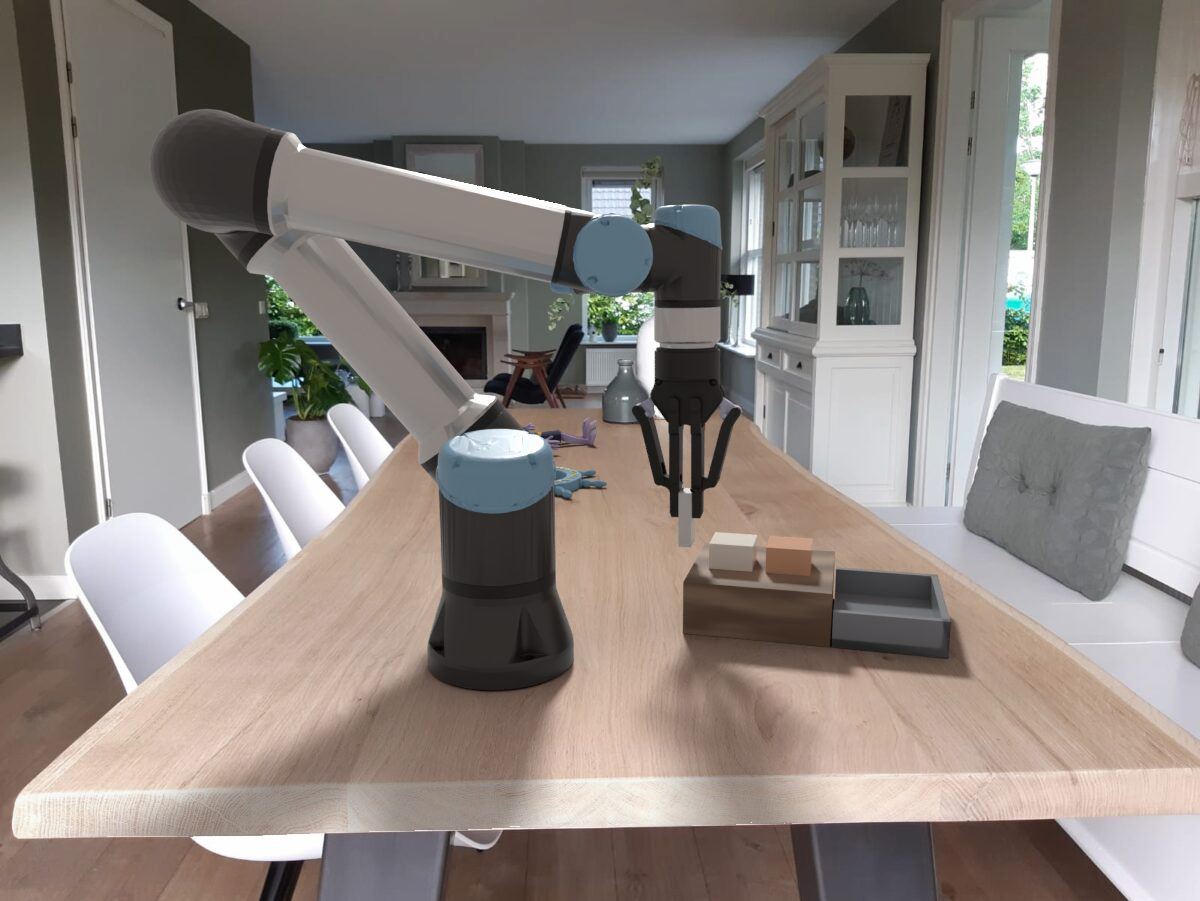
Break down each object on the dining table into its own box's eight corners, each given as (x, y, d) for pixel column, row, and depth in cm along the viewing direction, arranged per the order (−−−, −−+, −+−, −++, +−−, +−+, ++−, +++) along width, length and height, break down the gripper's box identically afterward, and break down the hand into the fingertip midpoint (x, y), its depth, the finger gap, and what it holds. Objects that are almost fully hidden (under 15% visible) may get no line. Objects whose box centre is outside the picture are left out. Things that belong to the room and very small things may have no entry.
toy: (609, 425, 211) (480, 417, 201) (605, 465, 212) (476, 459, 203) (577, 410, 235) (461, 403, 226) (574, 446, 237) (458, 440, 227)
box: (948, 658, 95) (950, 621, 95) (831, 647, 98) (833, 611, 98) (935, 606, 111) (937, 574, 110) (834, 598, 114) (835, 567, 113)
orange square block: (810, 576, 103) (811, 550, 103) (765, 572, 105) (766, 547, 104) (812, 563, 108) (813, 538, 107) (769, 560, 109) (769, 535, 109)
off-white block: (752, 571, 105) (752, 546, 104) (708, 568, 106) (709, 543, 106) (756, 559, 110) (757, 534, 109) (714, 556, 111) (715, 532, 110)
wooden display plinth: (829, 647, 99) (831, 593, 97) (682, 633, 103) (683, 581, 102) (833, 598, 114) (835, 551, 113) (704, 587, 118) (705, 542, 117)
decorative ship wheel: (482, 454, 195) (621, 458, 189) (483, 468, 196) (621, 474, 190) (428, 484, 166) (590, 491, 160) (429, 501, 167) (590, 508, 161)
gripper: (748, 343, 107) (745, 538, 111) (638, 342, 110) (639, 532, 114) (740, 347, 100) (737, 556, 104) (624, 347, 103) (626, 549, 107)
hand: (686, 543), depth 109 cm, fingers closed
